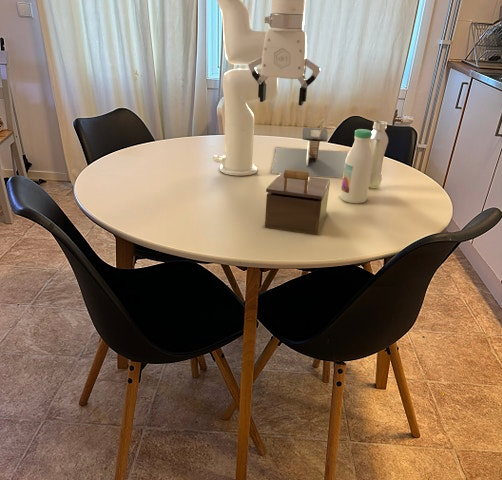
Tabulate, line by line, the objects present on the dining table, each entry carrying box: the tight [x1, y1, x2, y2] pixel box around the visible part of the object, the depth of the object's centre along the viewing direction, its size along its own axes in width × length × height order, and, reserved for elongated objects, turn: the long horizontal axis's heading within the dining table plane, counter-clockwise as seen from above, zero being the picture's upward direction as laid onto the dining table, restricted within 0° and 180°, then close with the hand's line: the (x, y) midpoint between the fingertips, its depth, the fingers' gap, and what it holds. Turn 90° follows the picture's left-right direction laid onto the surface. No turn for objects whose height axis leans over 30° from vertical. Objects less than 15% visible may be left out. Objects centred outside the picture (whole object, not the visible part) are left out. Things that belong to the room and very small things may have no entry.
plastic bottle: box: [369, 120, 389, 189], centre depth 148 cm, size 6×7×20 cm
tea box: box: [264, 182, 331, 236], centre depth 125 cm, size 16×14×9 cm
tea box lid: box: [265, 169, 331, 199], centre depth 121 cm, size 16×14×6 cm
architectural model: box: [270, 124, 349, 179], centre depth 172 cm, size 35×28×14 cm
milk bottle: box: [340, 128, 373, 204], centre depth 137 cm, size 8×8×20 cm
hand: (281, 102), depth 117 cm, fingers open, 9 cm apart
